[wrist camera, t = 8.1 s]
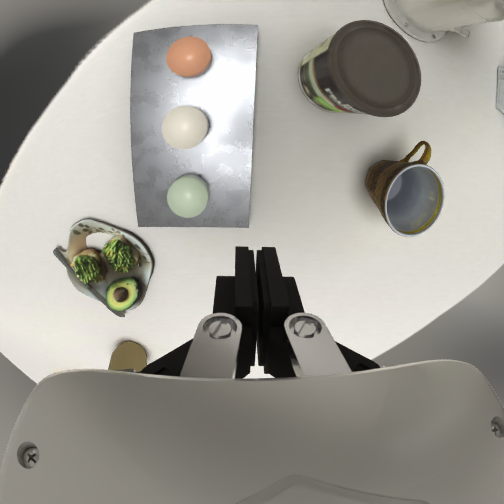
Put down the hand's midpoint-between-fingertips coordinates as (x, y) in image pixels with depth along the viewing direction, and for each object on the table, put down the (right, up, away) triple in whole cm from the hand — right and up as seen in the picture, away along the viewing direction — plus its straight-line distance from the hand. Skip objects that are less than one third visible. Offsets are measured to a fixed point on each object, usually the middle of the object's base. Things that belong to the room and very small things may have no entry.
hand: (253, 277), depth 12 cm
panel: (-8, +18, +23) cm, 30 cm away
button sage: (-8, +10, +27) cm, 30 cm away
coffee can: (+11, +25, +20) cm, 34 cm away
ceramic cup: (+21, +14, +27) cm, 37 cm away
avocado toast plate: (-25, -1, +33) cm, 42 cm away
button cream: (-8, +18, +21) cm, 29 cm away
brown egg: (-8, +26, +18) cm, 33 cm away
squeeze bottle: (-26, -20, +43) cm, 54 cm away
